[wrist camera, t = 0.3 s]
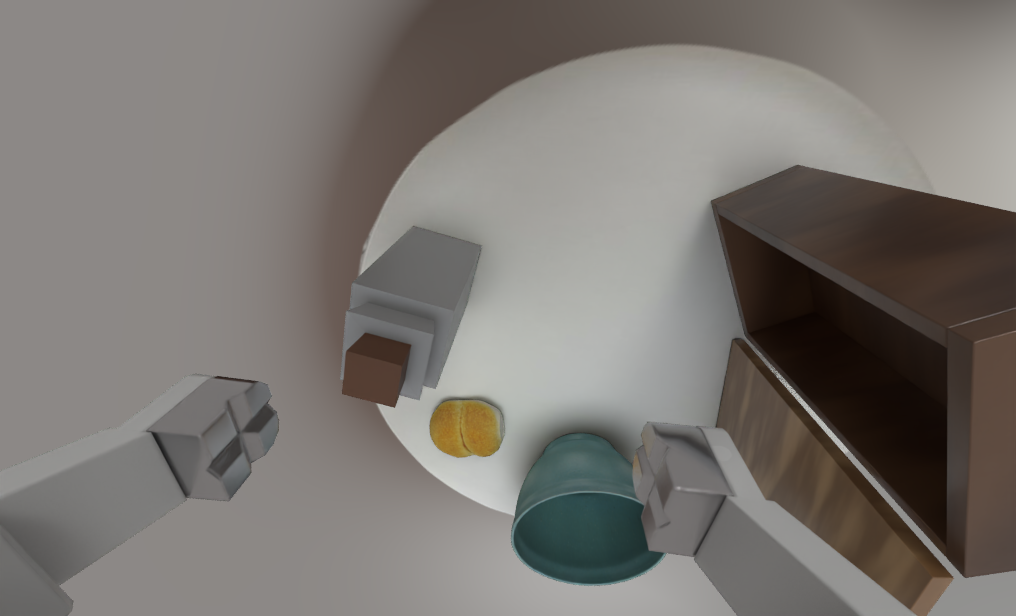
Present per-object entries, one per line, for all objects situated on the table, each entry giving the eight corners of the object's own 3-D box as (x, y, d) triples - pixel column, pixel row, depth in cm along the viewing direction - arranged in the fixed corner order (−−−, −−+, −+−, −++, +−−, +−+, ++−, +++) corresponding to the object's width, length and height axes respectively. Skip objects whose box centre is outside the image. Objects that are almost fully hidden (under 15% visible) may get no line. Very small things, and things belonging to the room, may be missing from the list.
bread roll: (426, 397, 46) (417, 421, 43) (500, 394, 45) (496, 418, 42) (440, 447, 50) (432, 472, 46) (508, 445, 49) (505, 471, 45)
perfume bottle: (403, 287, 40) (312, 407, 24) (413, 226, 37) (316, 316, 21) (466, 305, 40) (418, 435, 24) (481, 245, 37) (438, 349, 21)
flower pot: (654, 490, 51) (680, 579, 41) (536, 507, 54) (535, 594, 45) (632, 398, 44) (658, 479, 35) (499, 424, 47) (489, 505, 38)
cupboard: (744, 335, 39) (964, 578, 19) (710, 201, 34) (973, 342, 13) (820, 311, 38) (1153, 551, 17) (798, 164, 32) (1259, 263, 11)
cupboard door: (796, 336, 39) (1072, 580, 19) (766, 444, 46) (946, 708, 26) (732, 339, 40) (932, 578, 19) (712, 445, 46) (845, 703, 26)
